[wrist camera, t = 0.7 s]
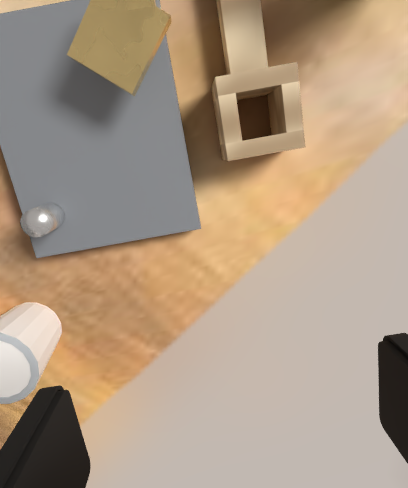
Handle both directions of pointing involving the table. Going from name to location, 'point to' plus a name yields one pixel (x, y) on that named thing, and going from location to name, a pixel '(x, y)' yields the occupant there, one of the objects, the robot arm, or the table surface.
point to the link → (254, 85)
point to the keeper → (120, 40)
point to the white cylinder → (25, 348)
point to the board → (90, 137)
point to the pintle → (42, 219)
